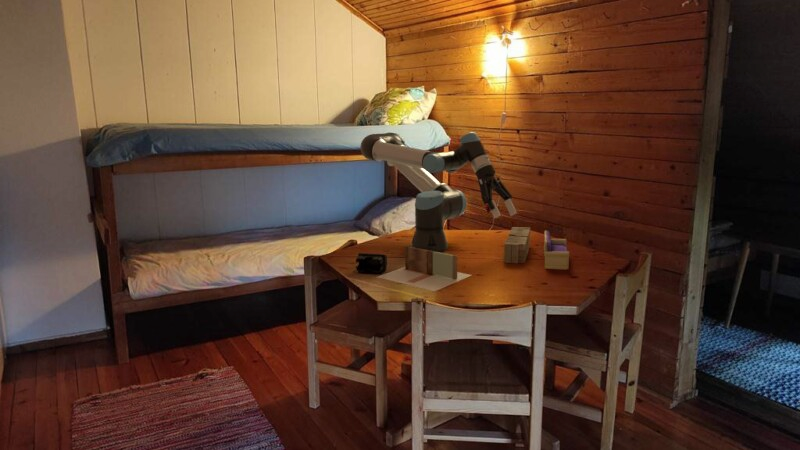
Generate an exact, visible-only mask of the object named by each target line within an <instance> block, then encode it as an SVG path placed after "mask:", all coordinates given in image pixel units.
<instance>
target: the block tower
mask: <svg viewBox="0 0 800 450" xmlns="http://www.w3.org/2000/svg"><path fill="white" fill-rule="evenodd" d="M530 235H531V227H521V226H520V227H518V226H515V227H513V226H512V227H511V230H510V231H509V233H508V237H507V238H506V240H505V243H504V246H503V247H504V248H503V249H504V253H503V254H504V255H503V262H504V264H505V263H507V264H519V263H522V264H523V263H524V264H525V263H526V261H527V256H528V255H529V254H528V253H529V250H530V249H529V248H530Z"/></svg>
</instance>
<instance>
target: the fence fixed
mask: <svg viewBox="0 0 800 450" xmlns="http://www.w3.org/2000/svg"><path fill="white" fill-rule="evenodd" d="M404 254H405V255H404V261H405V265H404V267H405V269H406V270H412V271H417V272H421V273H425V274H428V275H433V251H432V250H429V251H428V250H424V249H419V248H414V247H411V245H410V246H409V245H407V246H406V245H405V247H404Z"/></svg>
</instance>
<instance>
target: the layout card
mask: <svg viewBox="0 0 800 450" xmlns="http://www.w3.org/2000/svg"><path fill="white" fill-rule="evenodd" d="M471 276H472V274H467V273H465V272H459V271H457V279H452V278H447V277H443V276H439V275H434V274H433V275H428V274H425V273H421V272H417V271H412V270H406V269H405V266H404V267H400V268H398V269H395V270H392V271H390V272H387V273H384V274H383V273H382V274H381V275H377V278H379V279H383V280H387V281H391V282H395V283H398V284H403V285H406V286H407V285H408V286H411V287H415V288H420V289H423V290H427V291H431V292H436V291H439V290H441V289H443V288H445V287H448V286H450V285H452V284H455V283H457V282H460V281H462V280H464V279H467V278H469V277H471Z"/></svg>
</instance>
